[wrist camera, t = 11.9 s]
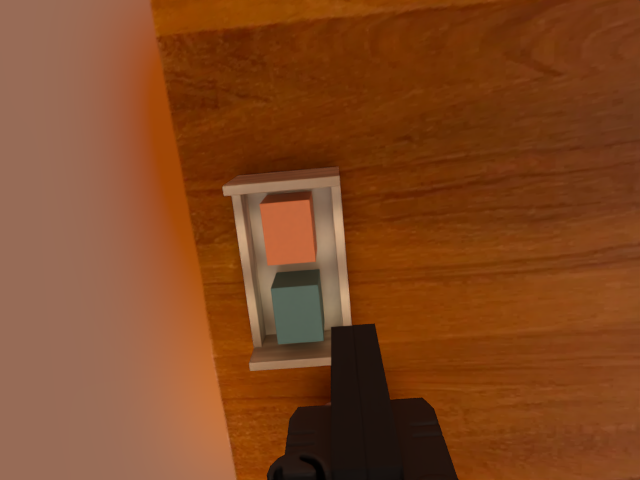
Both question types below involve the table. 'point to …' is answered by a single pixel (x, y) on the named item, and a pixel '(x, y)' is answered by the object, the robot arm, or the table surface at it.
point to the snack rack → (292, 264)
